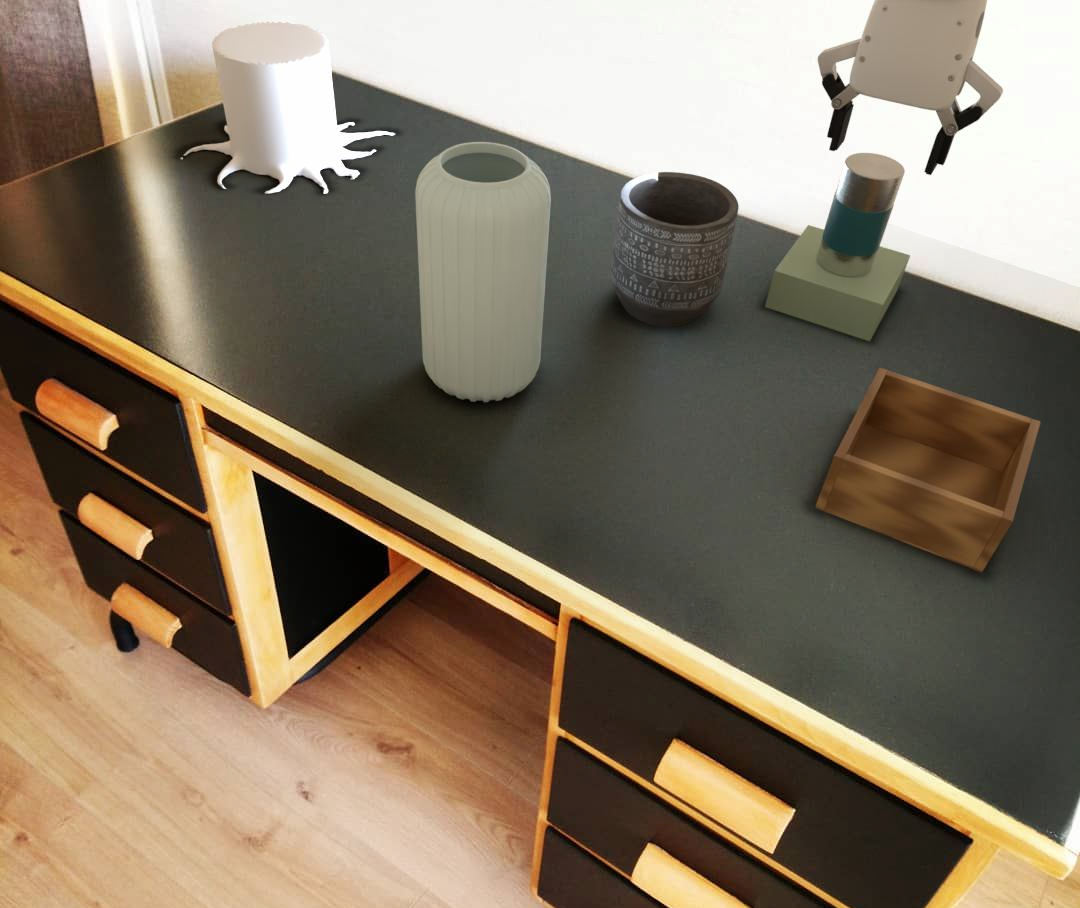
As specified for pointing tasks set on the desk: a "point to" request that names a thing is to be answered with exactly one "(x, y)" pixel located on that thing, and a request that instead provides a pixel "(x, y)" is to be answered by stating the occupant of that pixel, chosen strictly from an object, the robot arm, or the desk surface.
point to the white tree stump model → (280, 104)
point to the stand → (835, 288)
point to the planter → (671, 246)
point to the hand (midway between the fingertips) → (882, 157)
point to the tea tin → (859, 213)
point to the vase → (482, 269)
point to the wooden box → (931, 468)
